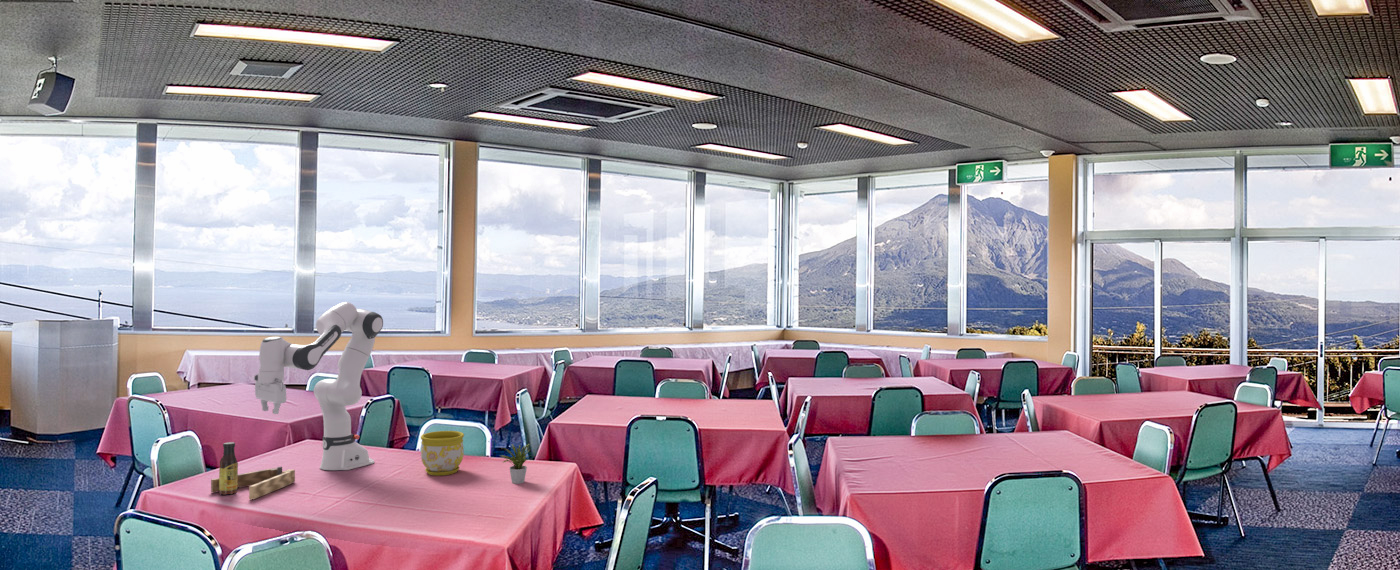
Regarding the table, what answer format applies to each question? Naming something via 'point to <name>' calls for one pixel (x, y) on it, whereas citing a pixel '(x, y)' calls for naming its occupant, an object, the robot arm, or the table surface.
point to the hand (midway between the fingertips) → (270, 412)
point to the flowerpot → (442, 452)
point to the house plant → (517, 464)
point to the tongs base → (250, 478)
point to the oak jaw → (272, 484)
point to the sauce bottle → (228, 470)
